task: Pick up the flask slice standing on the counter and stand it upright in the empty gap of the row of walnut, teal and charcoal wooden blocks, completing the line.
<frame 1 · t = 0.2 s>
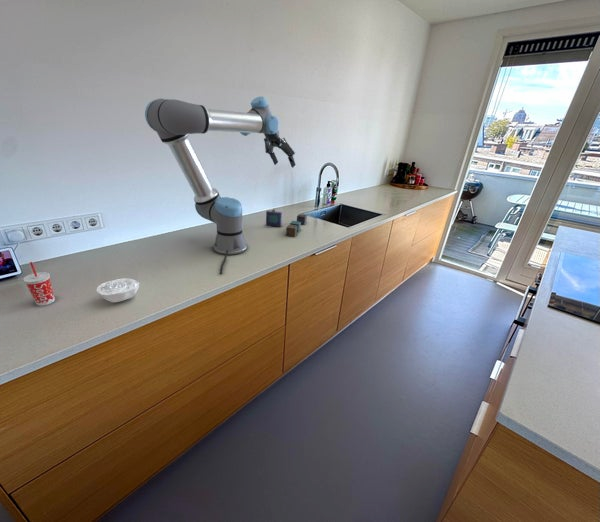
hand: (284, 164, 162), 34 cm above the worktop, tool tilted 35°, fingers open, 13 cm apart
flask: (273, 226, 171), on the worktop
cell model: (121, 299, 95), on the worktop
block a: (291, 235, 159), on the worktop
block b: (295, 230, 166), on the worktop
block c: (301, 223, 179), on the worktop
beverage cup: (46, 301, 91), on the worktop
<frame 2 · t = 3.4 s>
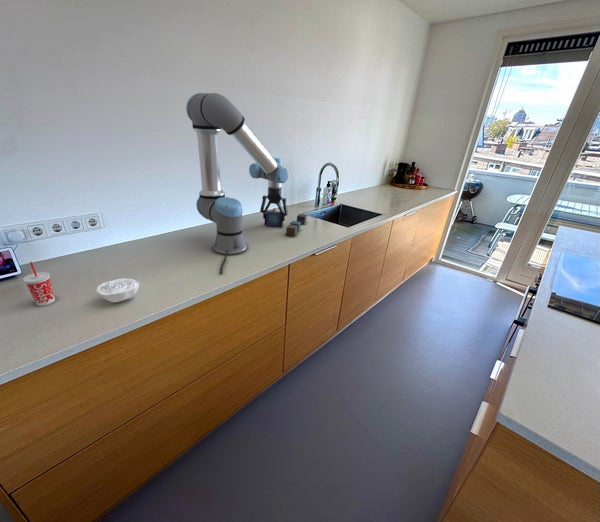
hand: (273, 225, 171), 1 cm above the worktop, tool pointing down, fingers closed on flask, 9 cm apart
flask: (273, 226, 171), on the worktop, touching gripper
everything else where it was.
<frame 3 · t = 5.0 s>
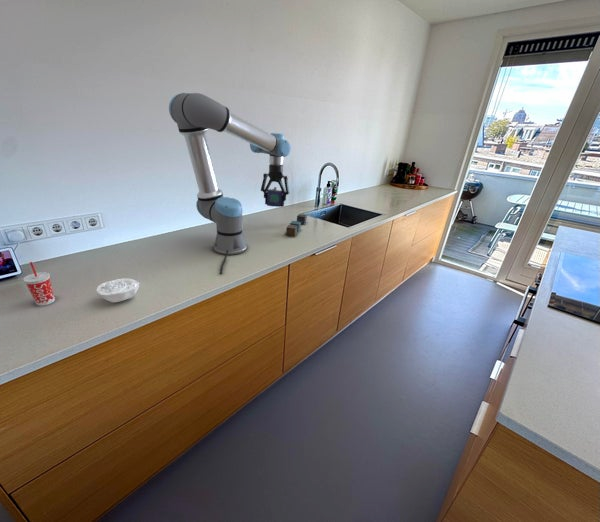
hand: (274, 204, 165), 13 cm above the worktop, tool pointing down, fingers closed on flask, 9 cm apart
flask: (274, 206, 166), point 12 cm above the worktop, touching gripper
everything else where it was.
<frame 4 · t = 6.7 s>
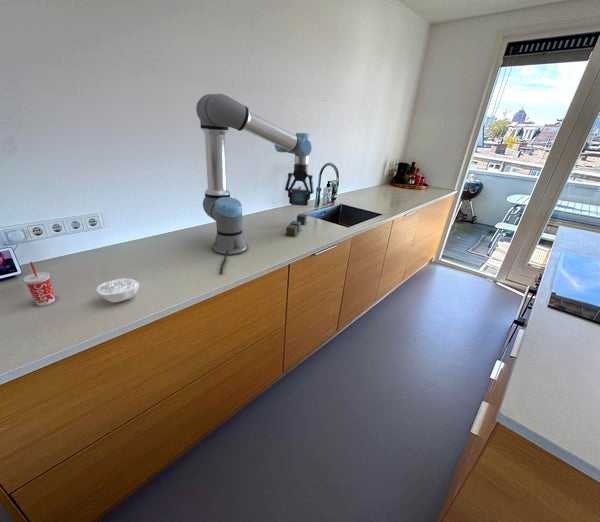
hand: (298, 204, 167), 14 cm above the worktop, tool pointing down, fingers closed on flask, 9 cm apart
flask: (298, 205, 167), point 13 cm above the worktop, touching gripper
everything else where it was.
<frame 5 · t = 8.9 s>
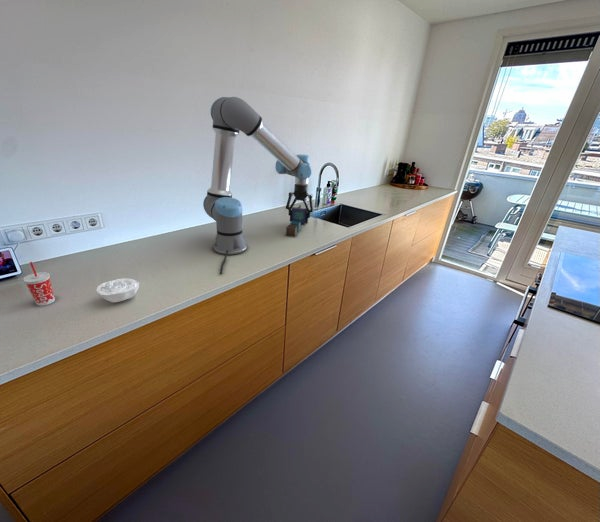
hand: (298, 221, 171), 3 cm above the worktop, tool pointing down, fingers closed on flask, 9 cm apart
flask: (298, 223, 172), point 2 cm above the worktop, touching gripper
everything else where it was.
when the fingers open (0 cm above the worktop, at t = 10.1 s): flask stays where it is, on the worktop.
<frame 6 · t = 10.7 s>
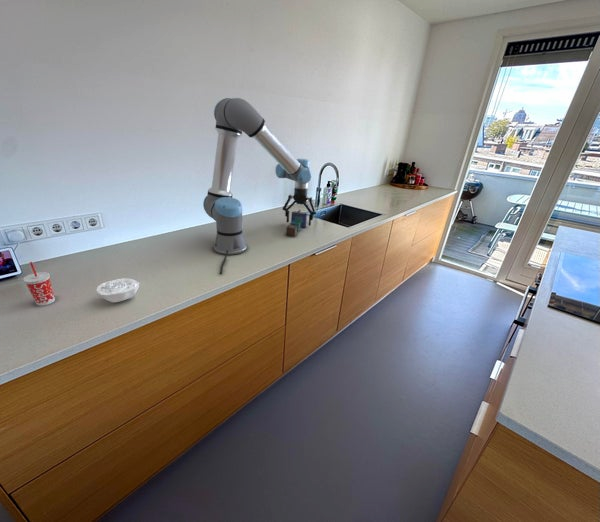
hand: (298, 223, 172), 2 cm above the worktop, tool pointing down, fingers open, 13 cm apart
flask: (298, 227, 173), on the worktop
everything else where it was.
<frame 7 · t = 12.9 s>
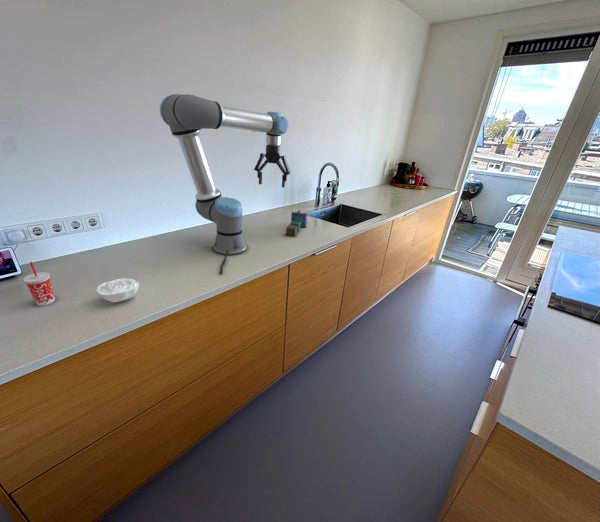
hand: (271, 185, 160), 24 cm above the worktop, tool pointing down, fingers open, 13 cm apart
nothing on the worktop moved.
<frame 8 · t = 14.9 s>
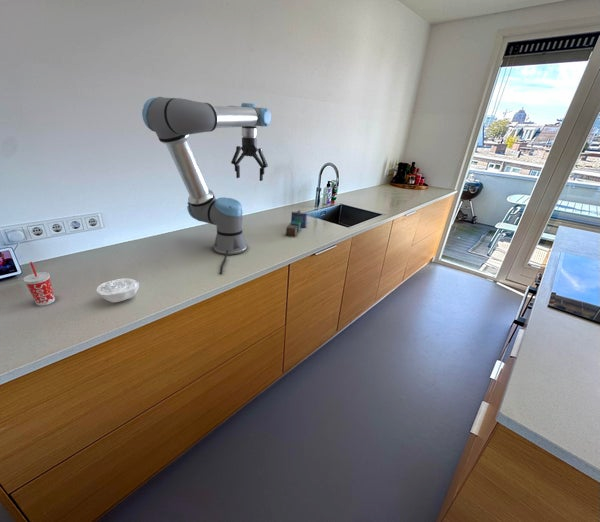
hand: (249, 179, 157), 27 cm above the worktop, tool pointing down, fingers open, 13 cm apart
nothing on the worktop moved.
at the end: flask 0.1 cm from the target spot, on the worktop; flask tilted 0°; block b moved 0.0 cm from its start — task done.
